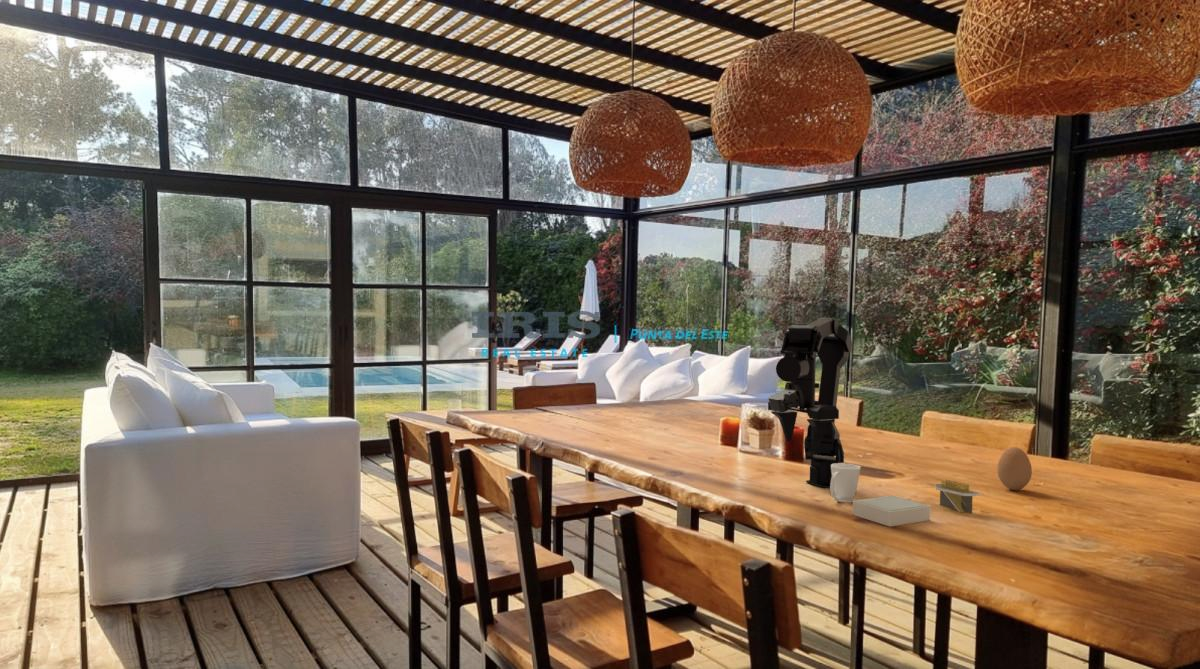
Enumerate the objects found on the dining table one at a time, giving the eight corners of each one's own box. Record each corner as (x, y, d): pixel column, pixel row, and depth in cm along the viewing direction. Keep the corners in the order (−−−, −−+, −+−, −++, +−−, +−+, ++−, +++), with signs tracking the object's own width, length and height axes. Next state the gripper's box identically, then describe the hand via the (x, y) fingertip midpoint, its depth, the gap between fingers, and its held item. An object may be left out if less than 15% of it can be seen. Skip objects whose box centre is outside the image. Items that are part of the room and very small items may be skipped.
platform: (973, 524, 156) (974, 493, 156) (901, 505, 172) (902, 476, 171) (1007, 517, 162) (1008, 488, 161) (935, 499, 177) (935, 472, 177)
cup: (866, 500, 173) (867, 466, 173) (845, 507, 166) (846, 471, 166) (838, 495, 178) (839, 461, 178) (817, 501, 171) (818, 467, 171)
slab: (891, 508, 166) (892, 495, 166) (929, 520, 157) (930, 505, 157) (852, 514, 160) (852, 500, 160) (889, 526, 151) (890, 511, 151)
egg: (992, 485, 192) (994, 444, 192) (1024, 487, 190) (1026, 445, 190) (1002, 492, 184) (1003, 448, 184) (1035, 494, 183) (1037, 450, 183)
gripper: (750, 376, 178) (749, 440, 179) (802, 383, 162) (800, 454, 162) (787, 374, 183) (786, 437, 184) (841, 382, 166) (839, 451, 167)
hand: (801, 444), depth 174 cm, fingers open, 9 cm apart
